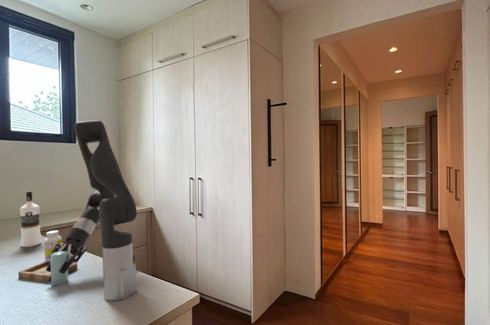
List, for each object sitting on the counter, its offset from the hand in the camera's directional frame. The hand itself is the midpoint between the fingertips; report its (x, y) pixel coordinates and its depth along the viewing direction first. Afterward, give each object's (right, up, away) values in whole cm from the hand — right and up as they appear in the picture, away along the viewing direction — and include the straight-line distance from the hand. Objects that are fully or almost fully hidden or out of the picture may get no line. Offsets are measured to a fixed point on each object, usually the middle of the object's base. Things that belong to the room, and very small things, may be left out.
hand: (54, 271), depth 96 cm
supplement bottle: (-20, -5, +26) cm, 33 cm away
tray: (-10, -5, +10) cm, 15 cm away
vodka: (-48, -5, +47) cm, 68 cm away
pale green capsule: (+1, -5, +2) cm, 5 cm away
